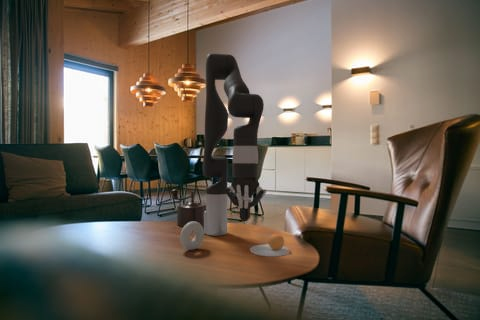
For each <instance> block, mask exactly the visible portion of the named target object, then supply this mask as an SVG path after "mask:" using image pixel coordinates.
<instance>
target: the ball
mask: <svg viewBox="0 0 480 320" xmlns="http://www.w3.org/2000/svg"><path fill="white" fill-rule="evenodd" d="M268 244H269V246H270V247H271V248H272V249H274V250H279V249H281V248H282V247H283V246H285V239H284V237H283V236H282V235H281V234H278V233H273V234H271V235H270V236H269V238H268Z"/></svg>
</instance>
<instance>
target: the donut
mask: <svg viewBox="0 0 480 320" xmlns="http://www.w3.org/2000/svg"><path fill="white" fill-rule="evenodd" d="M193 232H194V235H193V236H194V237H193V238H192V239H191V234H192V233H193ZM204 237H205V234H204V226H202V225H201V224H200V223H198V222H196V221H192V222H189V223H187V224H186V225H185V226H184V227H182V229H181V231H180V235H179V241H180V243H181V246H182V247H183V248H184V249H185V250H187V251H194V250H195V249H198V248H199V247H200V246H201V244H202V243H203V241H204V239H205V238H204Z"/></svg>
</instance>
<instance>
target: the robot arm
mask: <svg viewBox="0 0 480 320" xmlns="http://www.w3.org/2000/svg"><path fill="white" fill-rule="evenodd" d="M216 81H224V82H223V91H224V93H225V95H226V97H227V101H228V102H227V108H226V105H225V104H224V102H223V101H222V99H221V97H220V95H219V93H218V91H217V87H216ZM249 89H250V88H249V87H248V86H247V85H246V83H245V81H244V79H243V78H242V74H241V71H240V68H239V65H238V61H237V59H236V57H235V56H234V55H232V54H225V53H208V54H207V56H206V59H205V94H206V95H205V110H204V115H205V116H204V145H203V146H204V147H203V157H202V158H203V159H202V174H203V177H205V178H207V179H208V178H209V179H211V178H213V179H217V178H218V179H219V180H218V181H217V182H216V183H214V184H211V185H208V186H206V188H205V206H206V211H204V225H203V229H204V235H205V234H206V235H208V236H218V237H219V236H225V235H227V234H228V199H229V200H230V201H231V203H232V205H234V206H236V207H237V208H239V219H240V220H241V222H248V221H249V220H250V219H251V209H252V208H253V207H255V206H257V205H258V203H259V202H260V201H261V200H262V198H264V196H265V194H266V193H267V190H266V189H263V188H262V187H261V186H260V182H259V151H258V149H259V148H258V132H259V126H260V123H261V119H262V115H263V112H264V109H265V108H264V107H265V104H264V100H263V98H262V97H261V95H259V94H256V93H250V90H249ZM229 115H230V116H232V117H234V118H238V119H239V118H243V119H244V118H245V119H248V122H247V123H246V124H244V125H239V126H236V127H234V129H233V147H232V148H233V149H232V171H231V172H232V173H231V174H232V180H231V183H230V184H231V185H230V186H228V178H229V177H228V176H229V160H228V158H227V157H226V156H219V155H218V156H217V155H216V156H214V155H213V152H214V151H215V148H216V147H217V145H218V144H219V143H220V142H221V140H222V138H223V137H224V136H225V135H226V132H227V131H228V124H229ZM255 193H256V195H255V197H253V196H254V194H255Z"/></svg>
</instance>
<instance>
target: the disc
mask: <svg viewBox="0 0 480 320" xmlns="http://www.w3.org/2000/svg"><path fill="white" fill-rule="evenodd" d="M249 251H250V253H252V254H255V255H257V256H262V257H283V256H287V255H288V254H290V253H291V249H290V248H289V247H287V246H285V245H283V247H282V248H281V249H279V250H274V249H272V248H271V247H270V246H269V243H268V244H267V243H266V244H257V245H253V246H251V247H250V248H249Z"/></svg>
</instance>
